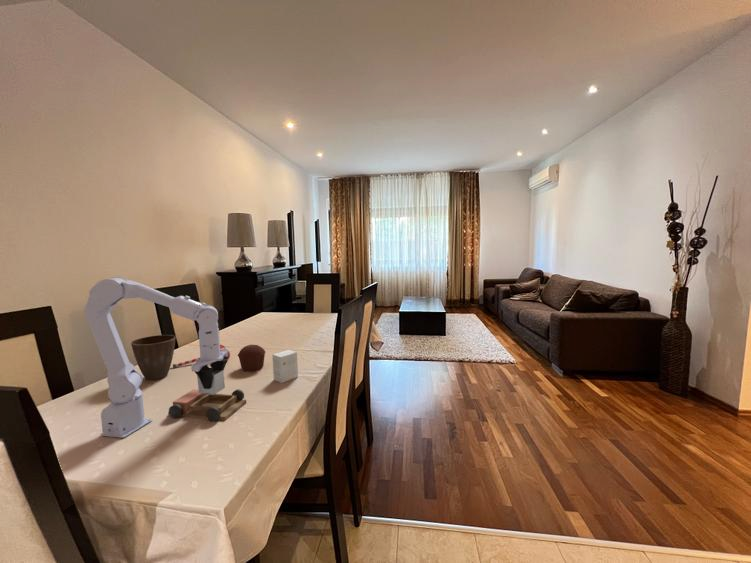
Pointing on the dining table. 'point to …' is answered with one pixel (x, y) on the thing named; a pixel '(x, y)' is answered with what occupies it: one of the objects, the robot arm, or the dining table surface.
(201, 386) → the grey block
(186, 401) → the chassis
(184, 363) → the toy hammer
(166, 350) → the plant pot
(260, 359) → the muffin
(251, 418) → the dining table surface
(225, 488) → the dining table surface
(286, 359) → the small box
